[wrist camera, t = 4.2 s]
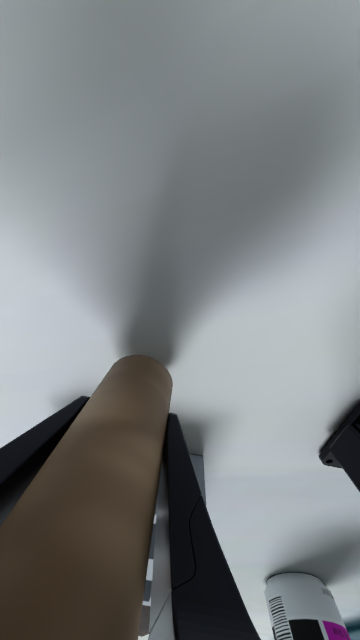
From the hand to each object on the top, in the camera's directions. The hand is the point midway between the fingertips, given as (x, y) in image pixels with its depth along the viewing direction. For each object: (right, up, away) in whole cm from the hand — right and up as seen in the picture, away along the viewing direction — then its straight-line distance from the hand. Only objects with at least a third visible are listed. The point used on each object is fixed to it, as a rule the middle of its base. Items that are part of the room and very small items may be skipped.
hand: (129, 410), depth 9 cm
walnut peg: (0, +1, +2) cm, 2 cm away
